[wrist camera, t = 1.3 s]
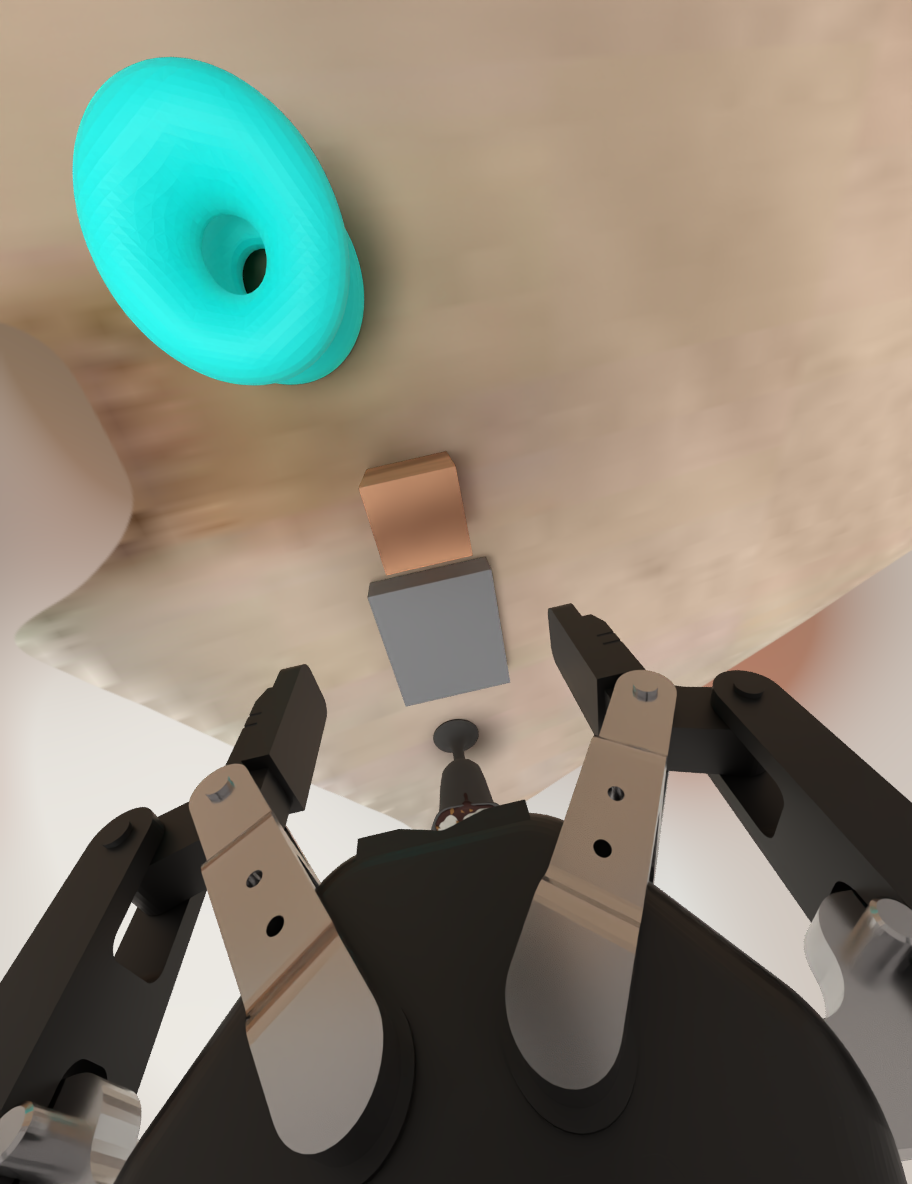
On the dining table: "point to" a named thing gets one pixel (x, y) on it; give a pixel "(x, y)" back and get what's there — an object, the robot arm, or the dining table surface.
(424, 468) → the cube
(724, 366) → the dining table surface
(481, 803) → the sundae
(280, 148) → the donuts
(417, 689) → the base
